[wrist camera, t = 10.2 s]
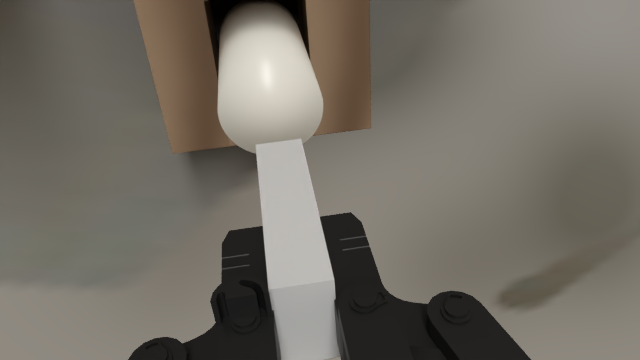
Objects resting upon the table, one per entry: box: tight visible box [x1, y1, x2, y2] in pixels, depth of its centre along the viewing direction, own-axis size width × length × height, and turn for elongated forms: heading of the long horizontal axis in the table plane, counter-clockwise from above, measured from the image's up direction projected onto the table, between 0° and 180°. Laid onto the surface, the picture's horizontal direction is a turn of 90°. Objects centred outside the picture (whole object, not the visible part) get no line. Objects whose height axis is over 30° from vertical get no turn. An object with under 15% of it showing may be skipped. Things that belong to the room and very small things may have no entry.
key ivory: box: [217, 0, 323, 154], centre depth 26 cm, size 4×4×9 cm
